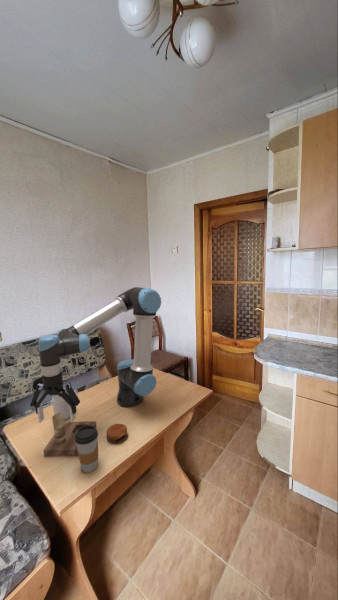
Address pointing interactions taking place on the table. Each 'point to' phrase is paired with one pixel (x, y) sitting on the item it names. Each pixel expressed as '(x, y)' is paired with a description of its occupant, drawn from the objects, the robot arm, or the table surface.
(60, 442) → the peg
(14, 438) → the table surface
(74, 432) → the board
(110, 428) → the burger
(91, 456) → the coffee cup
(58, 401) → the mug
